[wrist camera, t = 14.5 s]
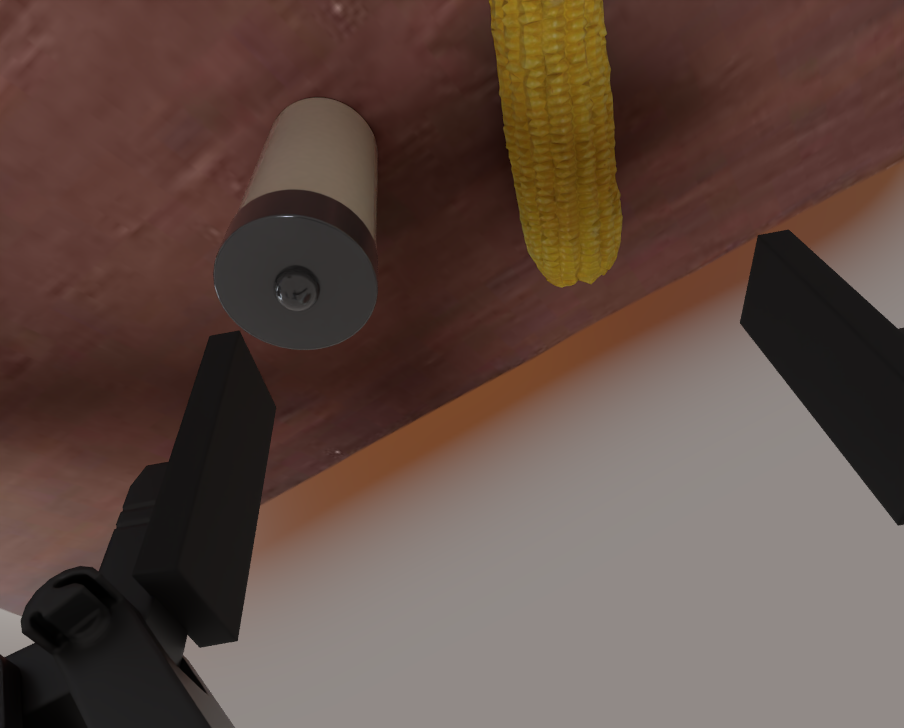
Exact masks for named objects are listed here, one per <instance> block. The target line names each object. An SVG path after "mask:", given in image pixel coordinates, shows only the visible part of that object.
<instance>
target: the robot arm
mask: <svg viewBox="0 0 904 728" xmlns="http://www.w3.org/2000/svg"><path fill="white" fill-rule="evenodd" d="M740 324H741V325H742V326H743V328H744V329H745V330H746V331H747V333H748V334H749V335H750V337H751V338H752V339H753V340H754V342H755V343H756V344H757V346H758V347H759V348H760V349H761V351H762V352H763V353H764V355H765V356H766V357H767V358H768V360H769V361H770V362H771V363H772V365H773V366H774V367H775V369H776V370H777V371H778V372H779V374H780V375H781V376H782V377H783V379H784V380H785V381H786V383H787V384H788V385H789V386H790V388H791V389H792V390H793V392H794V393H795V394H796V395H797V397H798V398H799V399H800V401H801V402H802V403H803V405H804V406H805V407H806V408H807V410H808V411H809V412H810V413H811V415H812V416H813V417H814V418H815V420H816V421H817V422H818V424H819V425H820V426H821V428H822V429H823V430H824V431H825V432H826V434H827V435H828V436H829V438H830V439H831V440H832V442H833V443H834V444H835V445H836V447H837V448H838V449H839V451H840V452H841V453H842V454H843V456H844V457H845V458H846V460H847V461H848V462H849V463H850V464H851V466H852V467H853V469H854V470H855V471H856V472H857V473H858V475H859V476H860V477H861V479H862V480H863V481H864V483H865V484H866V485H867V486H868V488H869V489H870V490H871V491H872V493H873V494H874V495H875V497H876V498H877V499H878V501H879V502H880V503H881V504H882V506H883V507H884V508H885V509H886V511H887V512H888V513H889V515H890V516H891V517H892V518H893V520H894V521H895V522H896V523H897V525H903V524H904V328H900V329H897V328H896V327H895V326H894V325H893V324H892V323H891V322H890V321H889V320H888V319H886V318H885V317H884V316H883V315H882V314H881V313H880V312H879V311H878V310H877V309H875V308H874V307H873V306H872V305H871V304H870V303H869V302H868V301H867V300H865V299H864V298H863V297H862V296H861V295H860V294H859V293H858V292H857V291H856V290H854V289H853V288H852V287H851V286H850V285H849V284H848V283H847V282H846V281H845V280H844V279H842V278H841V277H840V276H839V275H838V274H837V273H836V272H835V271H834V270H833V269H831V268H830V267H829V266H828V265H827V264H826V263H825V262H824V261H823V260H822V259H820V258H819V257H818V256H817V255H816V254H815V253H814V252H813V251H812V250H810V249H809V248H808V247H807V246H806V245H805V244H804V243H803V242H802V241H801V240H800V239H798V238H797V237H796V236H795V235H794V234H793V233H792V232H791V231H790V230H784V231H778V232H773V233H768V234H762V235H758V238H757V243H756V247H755V252H754V257H753V262H752V267H751V272H750V276H749V282H748V286H747V291H746V296H745V301H744V305H743V310H742V315H741V320H740ZM275 411H276V406H275V404H274V402H273V399H272V397H271V395H270V393H269V391H268V389H267V387H266V385H265V383H264V381H263V379H262V376H261V374H260V372H259V370H258V368H257V366H256V364H255V362H254V360H253V358H252V356H251V354H250V351H249V349H248V347H247V345H246V343H245V341H244V339H243V337H242V335H241V333H240V331H234V332H229V333H223V334H218V335H212V336H209V339H208V343H207V346H206V349H205V352H204V355H203V358H202V361H201V364H200V367H199V370H198V373H197V376H196V379H195V382H194V386H193V389H192V392H191V395H190V398H189V401H188V404H187V407H186V410H185V413H184V416H183V419H182V422H181V425H180V429H179V432H178V435H177V438H176V441H175V444H174V447H173V450H172V453H171V456H170V459H169V462H165V463H159V464H154V465H148V466H146V467H145V468H144V470H143V471H142V472H141V474H140V475H139V476H138V477H137V479H136V480H135V481H134V482H133V484H132V485H131V486H130V489H129V491H128V494H127V497H126V499H125V502H124V505H123V511H122V512H121V513H120V516H119V518H118V521H117V524H116V526H117V529H114V532H113V534H112V537H111V540H110V542H109V545H108V548H107V550H106V553H105V556H104V558H103V561H102V564H101V566H100V569H99V572H98V571H97V570H96V569H94V568H93V567H84V566H79V567H75V568H72V569H68V570H65V571H63V572H61V573H60V574H58V575H56V576H54V577H53V578H51V579H49V580H48V581H47V582H46V583H45V584H44V585H43V586H42V587H40V588H39V589H38V590H37V591H36V592H35V594H34V595H33V596H32V598H31V599H30V601H29V602H28V603H27V605H26V607H25V609H24V612H23V615H22V618H21V627H22V633H23V634H24V635H26V636H27V637H29V638H30V639H31V640H33V641H34V642H35V643H34V644H32V645H30V646H27V647H25V648H23V649H21V650H19V651H17V652H15V653H13V654H11V655H8V656H7V657H3V656H2V655H0V728H235V727H234V726H233V724H232V723H231V721H230V720H229V719H228V717H227V715H226V714H225V713H224V711H223V710H222V708H221V707H220V705H219V704H218V702H217V701H216V700H215V698H214V697H213V695H212V694H211V692H210V691H209V689H208V688H207V687H206V685H205V684H204V682H203V681H202V679H201V678H200V677H199V675H198V674H197V672H196V671H195V669H194V668H193V667H192V665H191V664H190V662H189V661H188V660H187V659H186V658H185V657H184V656H183V652H184V648H185V642H186V639H187V635H188V636H189V637H190V638H191V639H192V640H193V641H194V642H195V643H196V644H197V645H198V646H199V647H200V648H201V647H206V646H212V645H217V644H223V643H228V642H235V641H238V635H239V629H240V623H241V617H242V611H243V605H244V599H245V593H246V587H247V581H248V575H249V569H250V562H251V557H252V550H253V544H254V538H255V532H256V526H257V520H258V514H259V508H260V502H261V496H262V490H263V484H264V478H265V472H266V466H267V460H268V454H269V448H270V442H271V435H272V429H273V423H274V417H275Z"/></svg>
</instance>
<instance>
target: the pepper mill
mask: <svg viewBox="0 0 904 728" xmlns="http://www.w3.org/2000/svg"><path fill="white" fill-rule="evenodd" d="M377 185H378V149H377V144H376V140H375V137H374V135H373V133H372V130H371V129H370V127H369V126H368V124H367V123H366V121H365V120H364V119H363V118H362V117H361V116H360V115H359V114H358V113H357V112H356V111H354V110H353V109H352V108H350V107H349V106H347V105H345V104H343V103H341V102H339V101H336V100H332V99H328V98H307V99H303V100H300V101H297V102H295V103H293V104H291V105H290V106H288V107H287V108H286V109H284V110H283V111H282V112H281V113H280V114H279V115H278V117H277V118H276V120H275V121H274V123H273V125H272V128H271V130H270V132H269V135H268V137H267V140H266V142H265V145H264V147H263V150H262V152H261V155H260V157H259V160H258V162H257V165H256V167H255V170H254V172H253V174H252V177H251V179H250V182H249V184H248V187H247V189H246V192H245V194H244V197H243V199H242V202H241V204H240V207H239V209H238V212H237V214H236V215H235V216H234V218H233V219H232V221H231V223H230V225H229V227H228V229H227V232H226V234H225V236H224V239H223V241H222V244H221V246H220V249H219V251H218V253H217V256H216V259H215V263H214V272H213V277H214V285H215V290H216V293H217V296H218V298H219V301H220V303H221V304H222V306H223V308H224V310H225V311H226V312H227V314H228V315H229V316H230V318H231V319H232V320H233V321H234V322H235V323H236V324H237V325H238V326H240V327H241V328H242V329H243V330H244V331H246V332H247V333H249V334H250V335H252V336H254V337H256V338H257V339H259V340H261V341H264V342H266V343H269V344H271V345H275V346H278V347H282V348H287V349H295V350H314V349H321V348H326V347H330V346H333V345H335V344H338V343H340V342H342V341H344V340H346V339H348V338H350V337H351V336H353V335H354V334H355V333H356V332H358V331H359V330H360V329H361V328H362V327H363V326H364V324H365V323H366V322H367V321H368V319H369V318H370V316H371V314H372V312H373V310H374V308H375V304H376V301H377V294H378V254H377V248H376V233H377Z"/></svg>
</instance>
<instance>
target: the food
mask: <svg viewBox="0 0 904 728" xmlns="http://www.w3.org/2000/svg"><path fill="white" fill-rule="evenodd" d="M489 4H490V7H491V18H492V21H491V28H492V30H491V31H492V35H493V39H494V46H495V52H496V59H497V72H498V78H499V86H500V89H499V96H500V97H501V107H502V111H503V122H504V124H505V125H504V127H503V130H504V134H505V139H506V148H507V149H508V151H509V159H510V162H511V165H512V168H511V171H512V174H513V179H514V187H515V190H516V197H517V201H518V207H519V212H520V221H521V224H522V229H523V233H524V239H525V243H526V245H527V251H528V253H529V255H530V256H531V258H532V259H533V260H534V262H535V263H536V264H537V268H538V269H539V270H540V272H542V274H543V276H545V277H546V280H547V281H549V282H550V283H552V284H553V285H555V286H558V287H564V286H572V285H574V284H575V283H576V282H577V281H578V280H580V281H583V282H586V283H589V284H592V283H593V282H594V281H595V280H596V279H597V278H598V277H599V276H600V275H605V274H606V272H607V271H608V270H610V268H611V267H612V265H613V263H614V262H615V260H616V258H617V252H618V249H619V246H620V242H621V231H622V219H623V216H622V212H621V201H620V199H619V198H620V196H621V195H620V192H619V189H618V186H617V183H616V178H615V173H616V171H617V169H616V166H615V165H616V161H615V151H614V147H615V139H614V133H615V132H614V129H615V126H614V116H613V96H612V92H611V87H610V71H611V68H610V65H609V61H608V56H607V50H606V39H605V36H606V34H607V32H606V28H605V24H604V9H603V0H489Z"/></svg>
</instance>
